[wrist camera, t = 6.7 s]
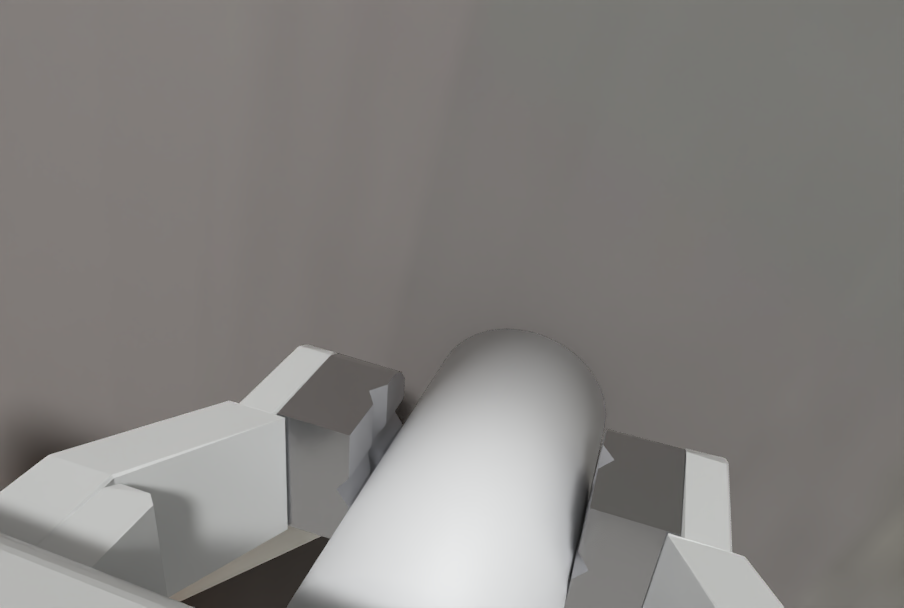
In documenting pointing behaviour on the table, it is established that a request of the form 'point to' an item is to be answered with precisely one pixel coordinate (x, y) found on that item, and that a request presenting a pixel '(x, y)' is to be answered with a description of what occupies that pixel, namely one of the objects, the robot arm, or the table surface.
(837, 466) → the table surface
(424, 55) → the table surface
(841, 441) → the table surface
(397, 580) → the block
